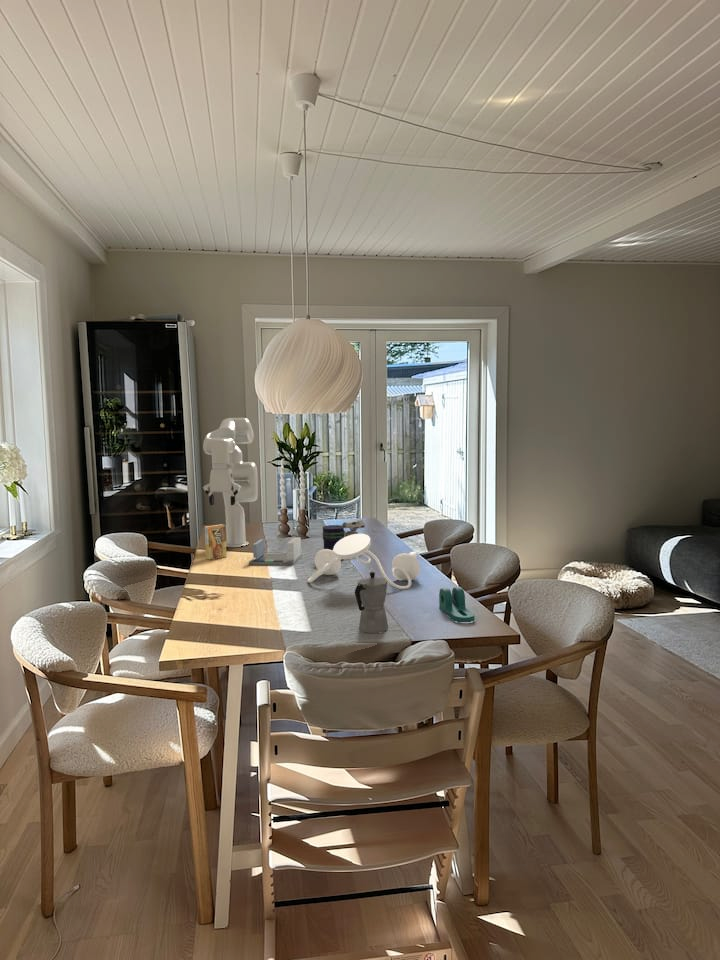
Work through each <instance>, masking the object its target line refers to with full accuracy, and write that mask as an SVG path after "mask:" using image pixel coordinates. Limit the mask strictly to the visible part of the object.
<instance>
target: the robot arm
mask: <svg viewBox="0 0 720 960" xmlns="http://www.w3.org/2000/svg"><path fill="white" fill-rule="evenodd" d="M254 438H255V433H254V430H253V427H252V423H251V422H250V420H249V419H248V418H246V417H228V418H227V417H226V418H224V419H222V421H221V423H220V425H219V428H217V429H215V430H213V431H210V432H209V433H207V434H206V436H205V438H204V440H203V445H202V448H203V452H204V453H205V454H206V455H211V465H212V466H211V467H212V469H211V470H210V473H209V474H210V475H209V482H208V483H207V484H206V485H204V486H203V487H202V488H203V490H204V492H205V494H206V495H207V496H208V499H209V501H208V502H209V504H210V506H213V505H215V495H214V494H215V493H222V497H223V501H224V512H225V532H226V548H242V547H241V546H243V547H247V546H249V545H248V544H250V543H249V541H246V540H247V539H246V520H245V518H246V517H245V515H246V514H245V509H244V507H243V506H242V505H241V504H240V503H251V502H257V500H258V496H259V488H258V487H259V481H258V475H259V474H258V467H257V465H256V463H255V462H253V461H245V462H244V460H243V452H242V450H241V448H239V446H237V445H246V444H247V445H248V444H251V443H253V441H254ZM244 481H245V482H244ZM235 482H239V483H235ZM241 482H243V483H241ZM246 482H247V483H246ZM246 545H247V546H246Z"/></svg>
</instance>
